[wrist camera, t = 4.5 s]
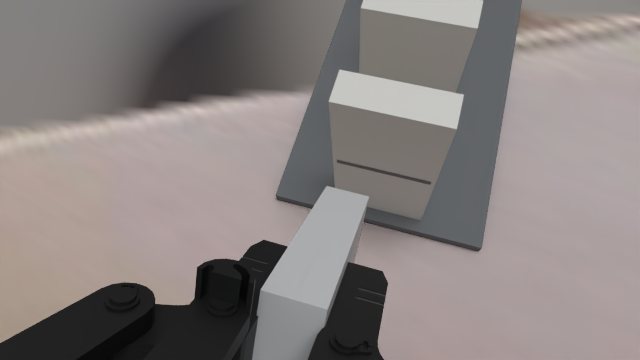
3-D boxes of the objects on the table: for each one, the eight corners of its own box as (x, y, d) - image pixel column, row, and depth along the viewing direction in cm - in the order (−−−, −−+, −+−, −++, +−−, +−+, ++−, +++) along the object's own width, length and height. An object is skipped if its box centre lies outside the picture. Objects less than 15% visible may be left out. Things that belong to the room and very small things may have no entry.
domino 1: (437, 145, 29) (477, 28, 19) (357, 128, 29) (360, 8, 20) (442, 123, 29) (483, 0, 20) (364, 106, 30) (369, -19, 21)
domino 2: (420, 220, 27) (457, 129, 18) (335, 199, 27) (328, 101, 18) (426, 195, 27) (464, 94, 18) (343, 174, 28) (339, 69, 19)
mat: (478, 251, 26) (481, 248, 26) (277, 199, 28) (275, 195, 28) (527, -45, 36) (530, -52, 35) (373, -68, 38) (373, -75, 37)
